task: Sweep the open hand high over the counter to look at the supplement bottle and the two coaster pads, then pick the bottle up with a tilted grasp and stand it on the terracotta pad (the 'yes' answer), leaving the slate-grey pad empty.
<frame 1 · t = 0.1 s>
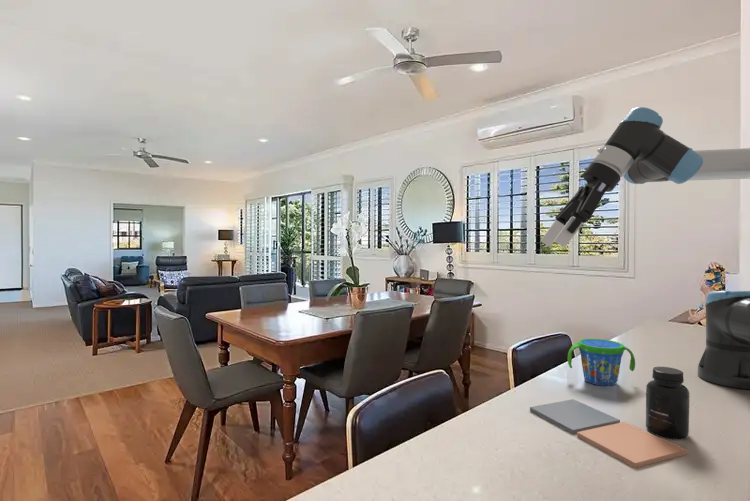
hand: (551, 244, 103), 36 cm above the table, tool tilted 35°, fingers open, 13 cm apart
supplement bottle: (667, 433, 81), on the table
terracotta pad: (629, 444, 77), on the table
snack cup: (600, 382, 110), on the table
slate pad: (573, 417, 89), on the table
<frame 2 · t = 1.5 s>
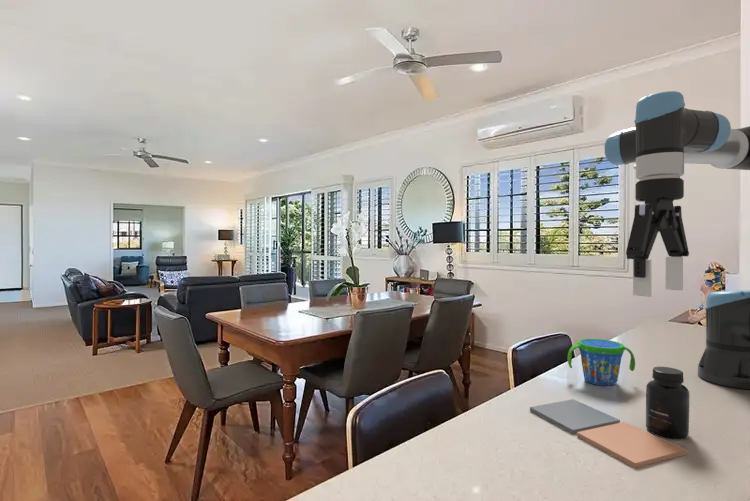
hand: (658, 292, 80), 27 cm above the table, tool pointing down, fingers open, 13 cm apart
nothing on the table moved.
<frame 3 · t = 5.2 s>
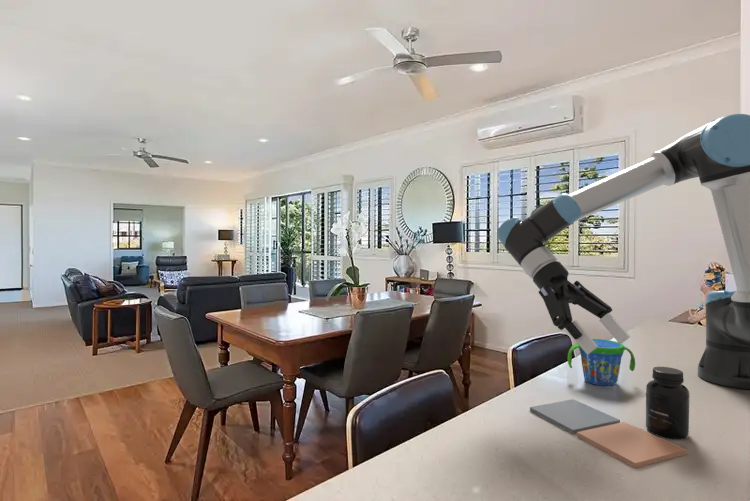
hand: (609, 345, 90), 15 cm above the table, tool tilted 45°, fingers open, 13 cm apart
nothing on the table moved.
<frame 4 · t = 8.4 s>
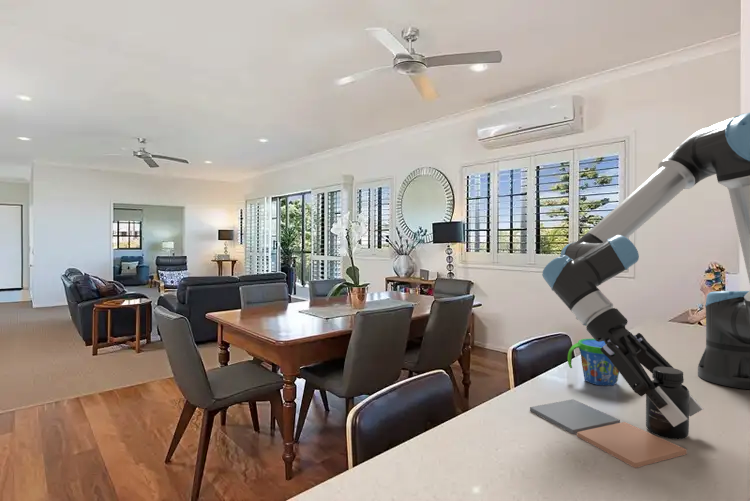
hand: (688, 417, 78), 4 cm above the table, tool tilted 45°, fingers closed on supplement bottle, 7 cm apart
supplement bottle: (667, 433, 81), on the table, touching gripper
everything else where it was.
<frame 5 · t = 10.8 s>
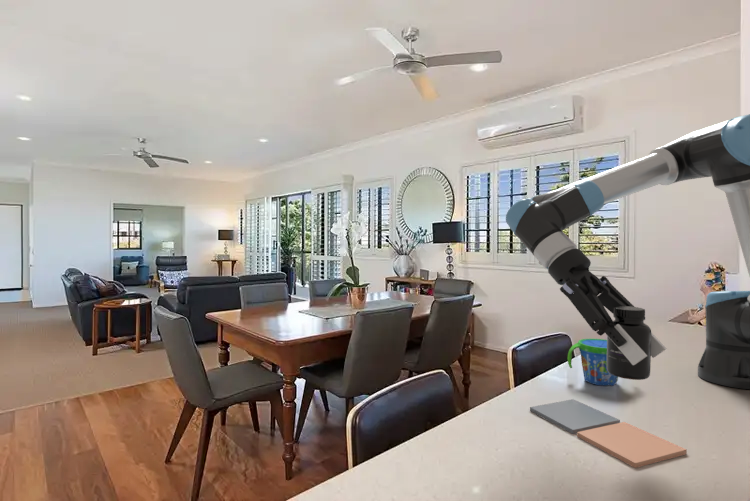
hand: (650, 356, 74), 17 cm above the table, tool tilted 45°, fingers closed on supplement bottle, 7 cm apart
supplement bottle: (628, 375, 77), point 12 cm above the table, touching gripper
everything else where it was.
when the fingers open (6 cm above the table, at t = 13.0 s): supplement bottle drops 1 cm, resting on terracotta pad.
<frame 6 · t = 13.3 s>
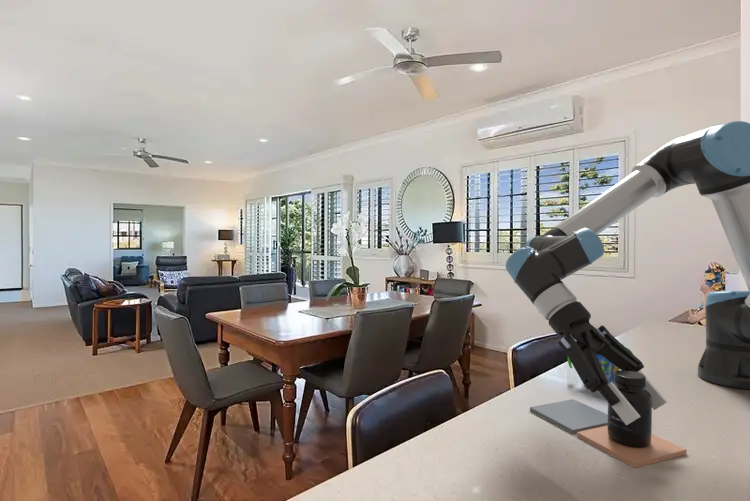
hand: (647, 413, 74), 7 cm above the table, tool tilted 45°, fingers open, 10 cm apart
supplement bottle: (629, 441, 77), point 1 cm above the table, touching terracotta pad
everything else where it was.
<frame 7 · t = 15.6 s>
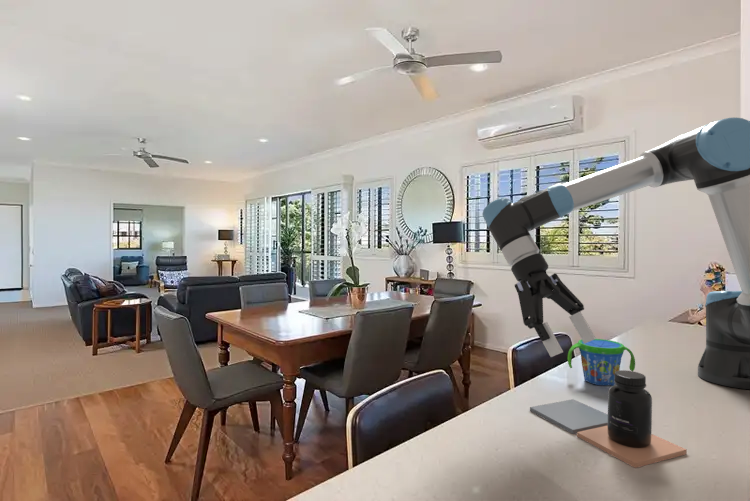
hand: (574, 347, 90), 14 cm above the table, tool tilted 30°, fingers open, 13 cm apart
nothing on the table moved.
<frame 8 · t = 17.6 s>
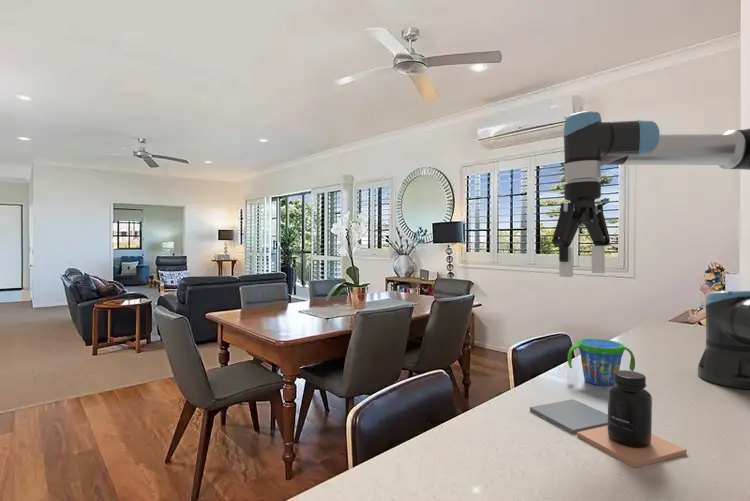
hand: (582, 275, 98), 29 cm above the table, tool pointing down, fingers open, 13 cm apart
nothing on the table moved.
at the end: supplement bottle inside the target area on the terracotta pad (0.1 cm from its centre), point 0.6 cm above the terracotta pad's base; supplement bottle tilted 0°; the gripper is holding nothing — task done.
